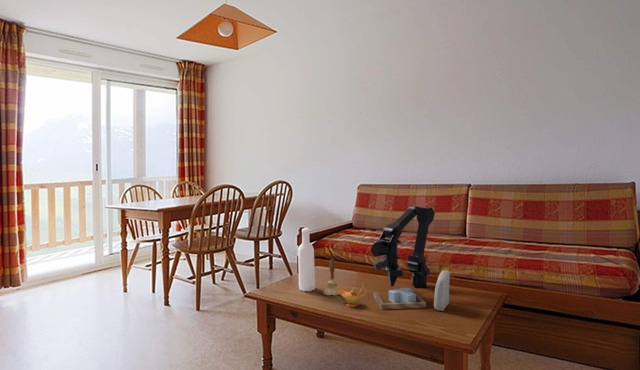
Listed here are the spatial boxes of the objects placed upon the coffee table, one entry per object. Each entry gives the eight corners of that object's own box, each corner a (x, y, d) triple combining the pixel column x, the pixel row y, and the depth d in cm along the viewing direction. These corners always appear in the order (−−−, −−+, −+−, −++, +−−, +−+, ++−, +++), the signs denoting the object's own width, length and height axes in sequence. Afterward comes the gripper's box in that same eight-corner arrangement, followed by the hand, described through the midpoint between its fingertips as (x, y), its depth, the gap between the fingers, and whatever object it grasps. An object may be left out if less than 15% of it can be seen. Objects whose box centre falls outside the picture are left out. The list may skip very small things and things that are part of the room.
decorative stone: (446, 312, 154) (445, 275, 153) (431, 310, 157) (430, 274, 156) (451, 304, 163) (450, 269, 163) (436, 302, 166) (436, 267, 166)
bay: (414, 294, 176) (414, 290, 176) (426, 307, 160) (426, 302, 160) (373, 296, 175) (373, 292, 175) (381, 309, 159) (381, 304, 159)
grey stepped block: (406, 296, 174) (406, 287, 174) (421, 303, 165) (421, 293, 165) (388, 300, 170) (388, 290, 170) (402, 307, 161) (402, 296, 161)
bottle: (314, 286, 192) (313, 227, 191) (315, 291, 185) (313, 229, 184) (299, 287, 192) (297, 227, 191) (298, 291, 184) (297, 230, 183)
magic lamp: (337, 297, 175) (336, 273, 174) (370, 305, 163) (370, 280, 163) (327, 301, 169) (327, 277, 169) (361, 310, 158) (361, 284, 158)
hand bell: (343, 291, 184) (342, 258, 183) (337, 296, 176) (336, 262, 176) (327, 289, 187) (327, 257, 187) (320, 294, 180) (320, 260, 179)
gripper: (370, 250, 188) (371, 281, 188) (378, 258, 169) (379, 293, 170) (393, 249, 188) (393, 280, 189) (403, 257, 170) (403, 292, 170)
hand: (392, 286), depth 179 cm, fingers closed
